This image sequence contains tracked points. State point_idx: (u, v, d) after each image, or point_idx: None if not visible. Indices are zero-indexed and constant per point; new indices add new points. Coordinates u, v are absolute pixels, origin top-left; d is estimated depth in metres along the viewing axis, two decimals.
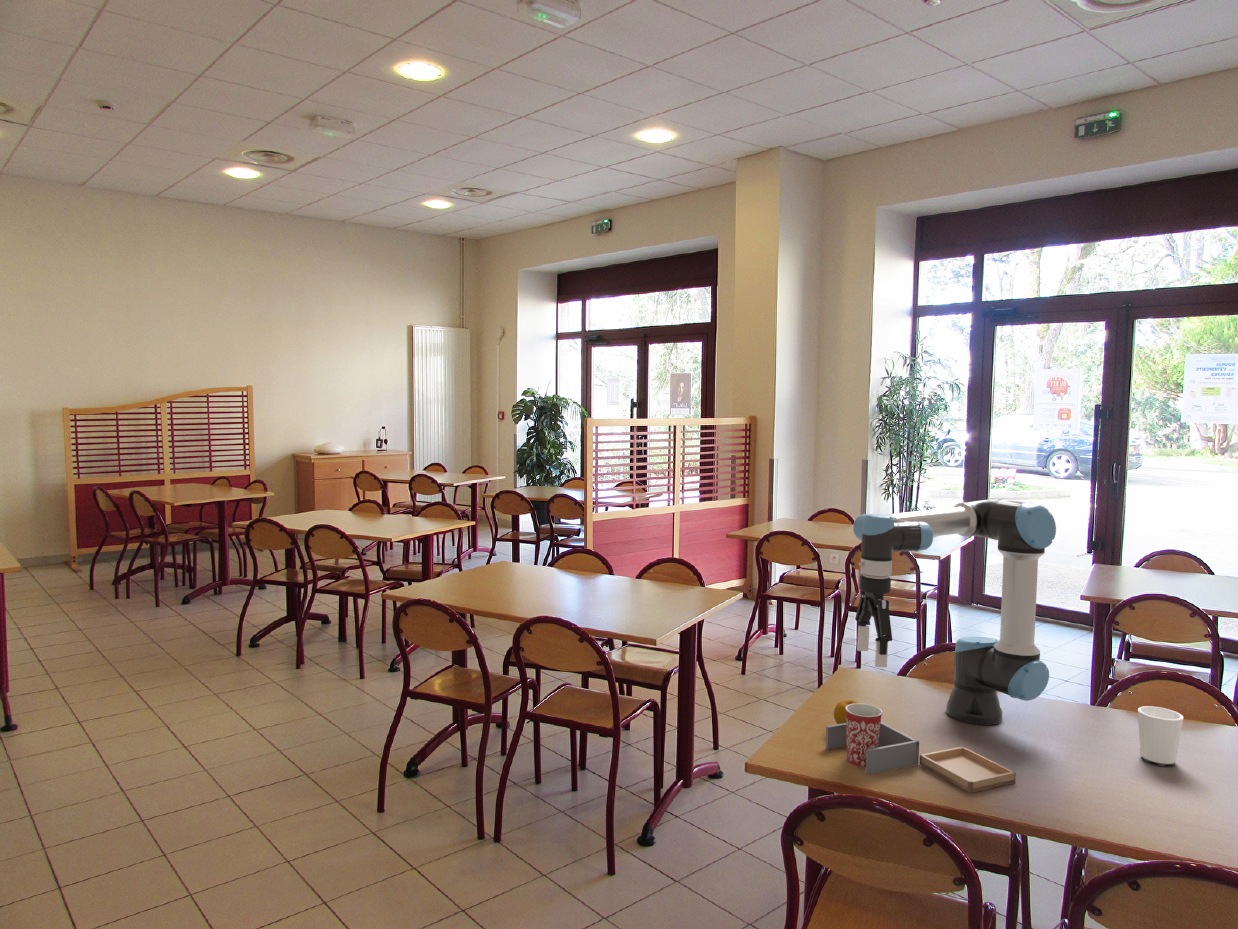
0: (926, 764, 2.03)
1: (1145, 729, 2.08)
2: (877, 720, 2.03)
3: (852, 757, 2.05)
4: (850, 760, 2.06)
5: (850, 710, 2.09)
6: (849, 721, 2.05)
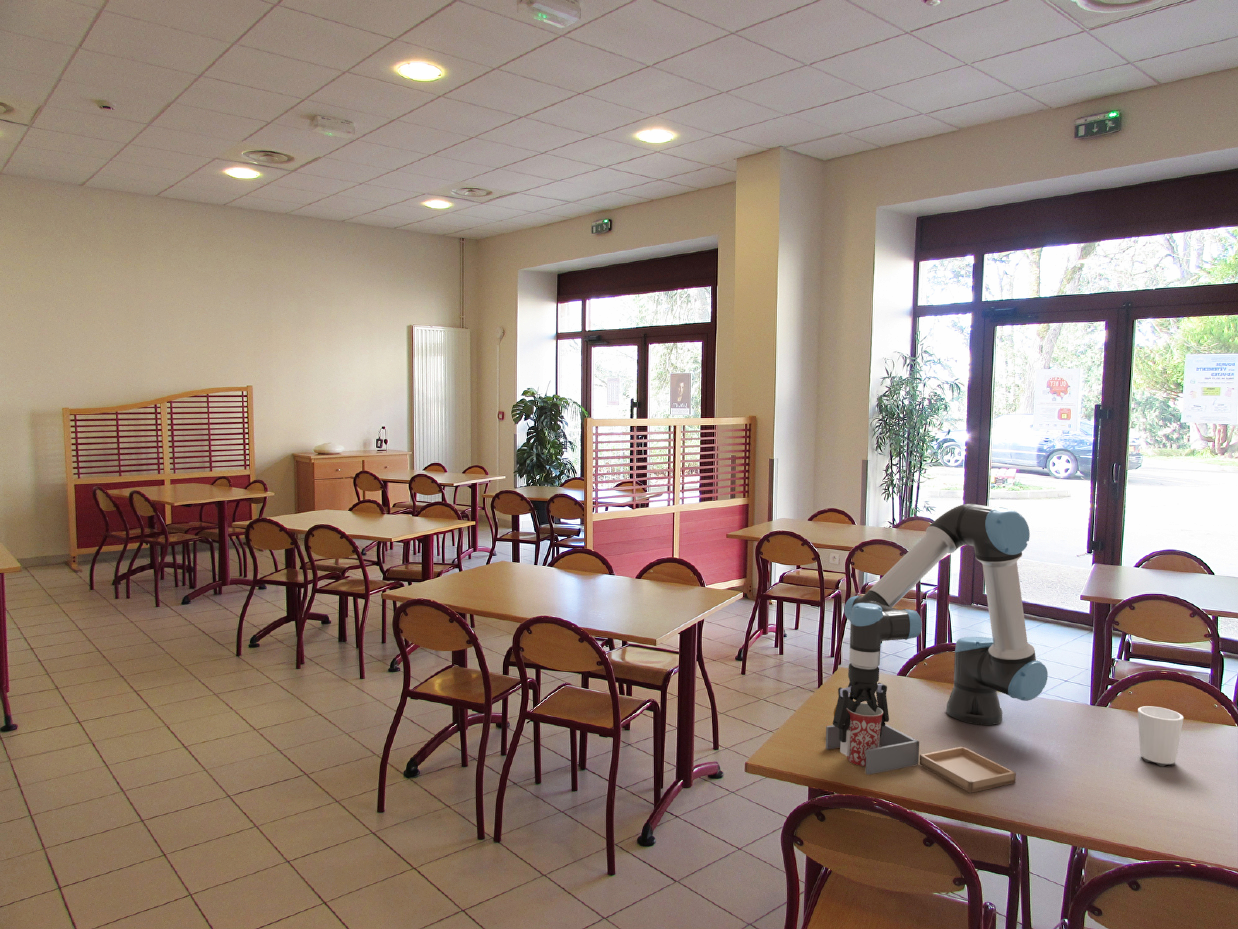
0: (926, 764, 2.03)
1: (1145, 729, 2.08)
2: (878, 720, 2.03)
3: (852, 756, 2.05)
4: (850, 759, 2.06)
5: None
6: (850, 720, 2.05)
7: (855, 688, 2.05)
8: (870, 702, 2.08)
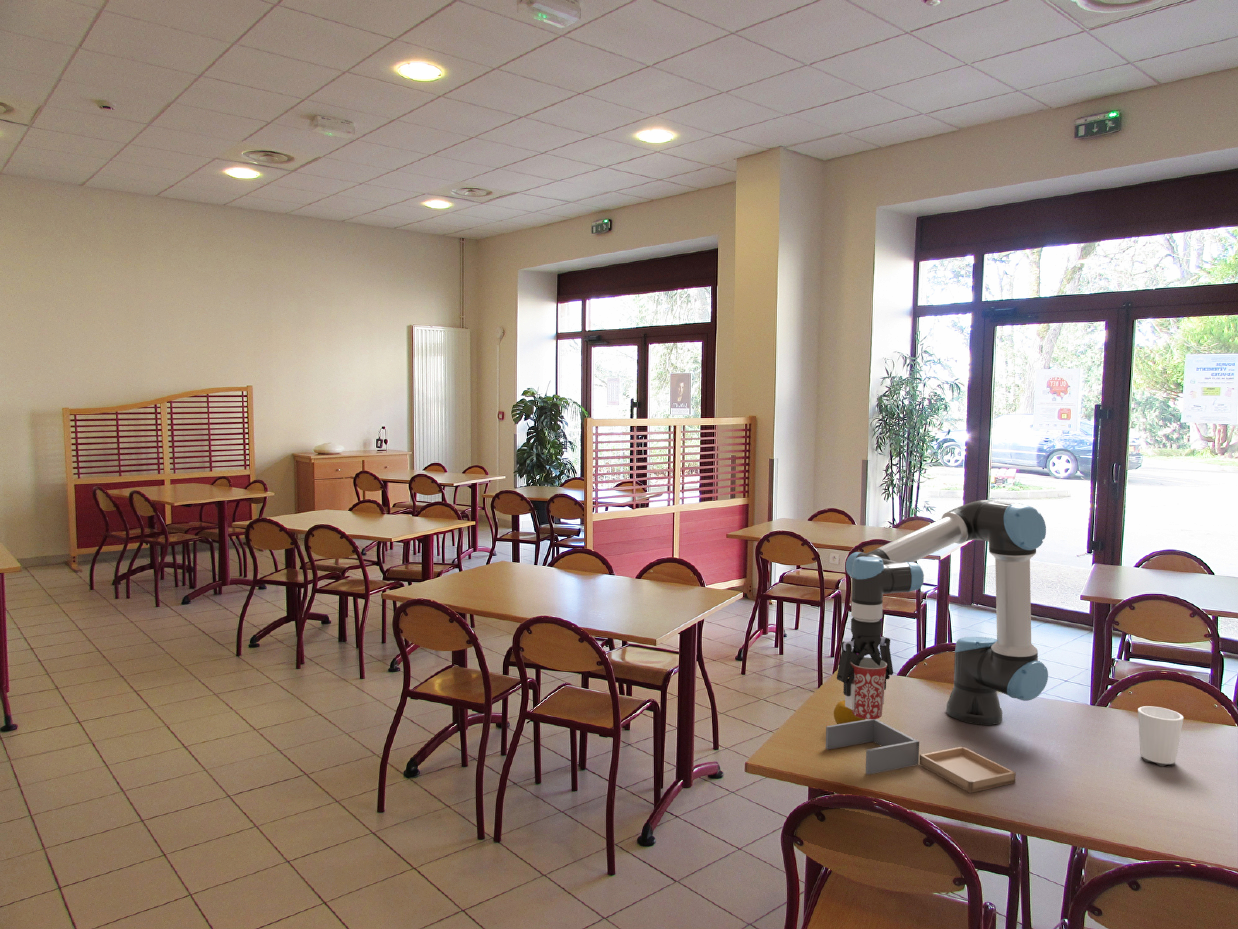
0: (926, 764, 2.03)
1: (1145, 729, 2.08)
2: (882, 672, 2.02)
3: (857, 710, 2.05)
4: (855, 713, 2.05)
5: None
6: (854, 674, 2.04)
7: (858, 641, 2.05)
8: (873, 655, 2.08)
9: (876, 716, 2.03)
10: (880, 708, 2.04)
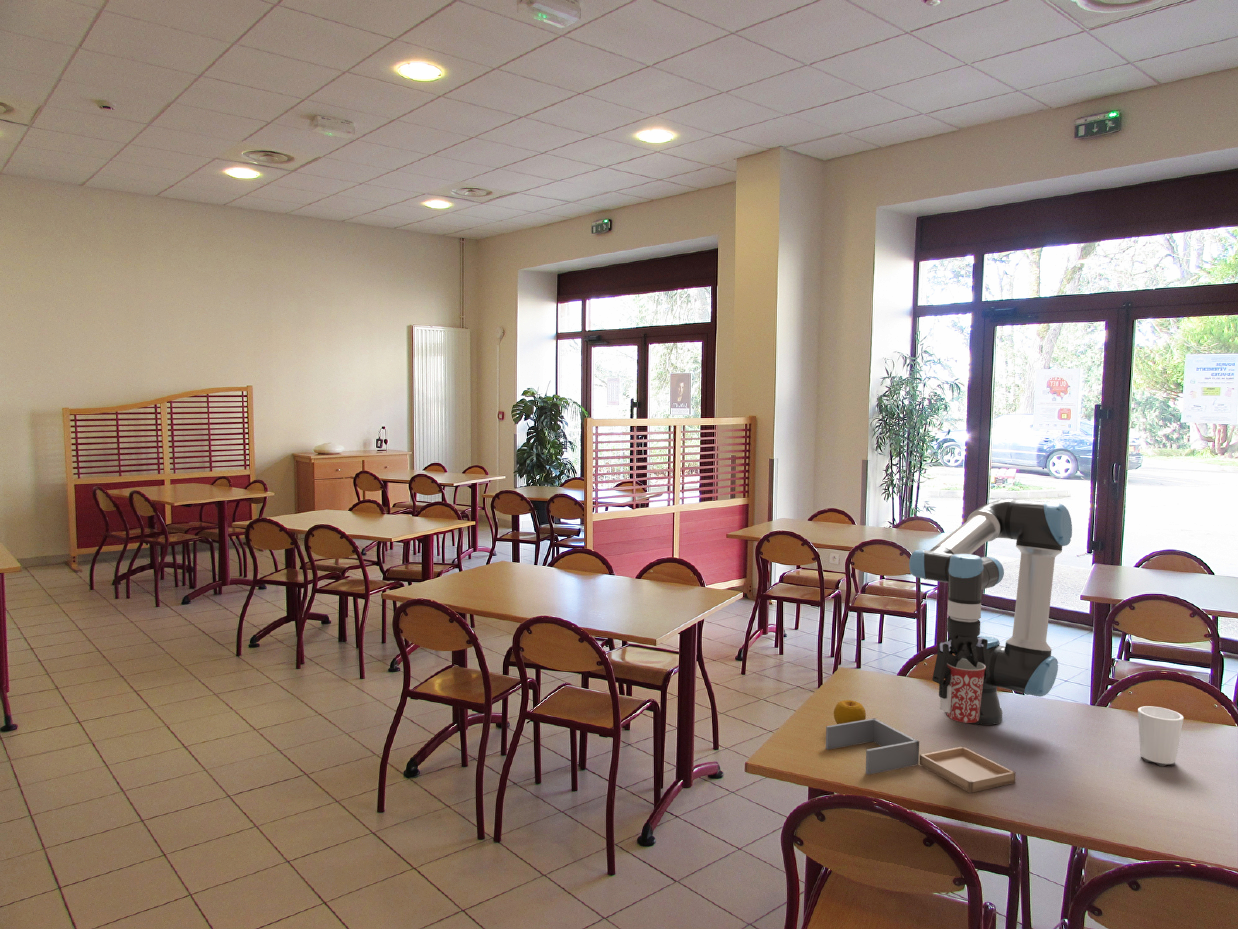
0: (926, 764, 2.03)
1: (1145, 729, 2.08)
2: (981, 674, 1.95)
3: (954, 713, 1.97)
4: (951, 716, 1.98)
5: None
6: (951, 675, 1.97)
7: (955, 642, 1.97)
8: (970, 656, 2.00)
9: (974, 719, 1.96)
10: (978, 711, 1.96)
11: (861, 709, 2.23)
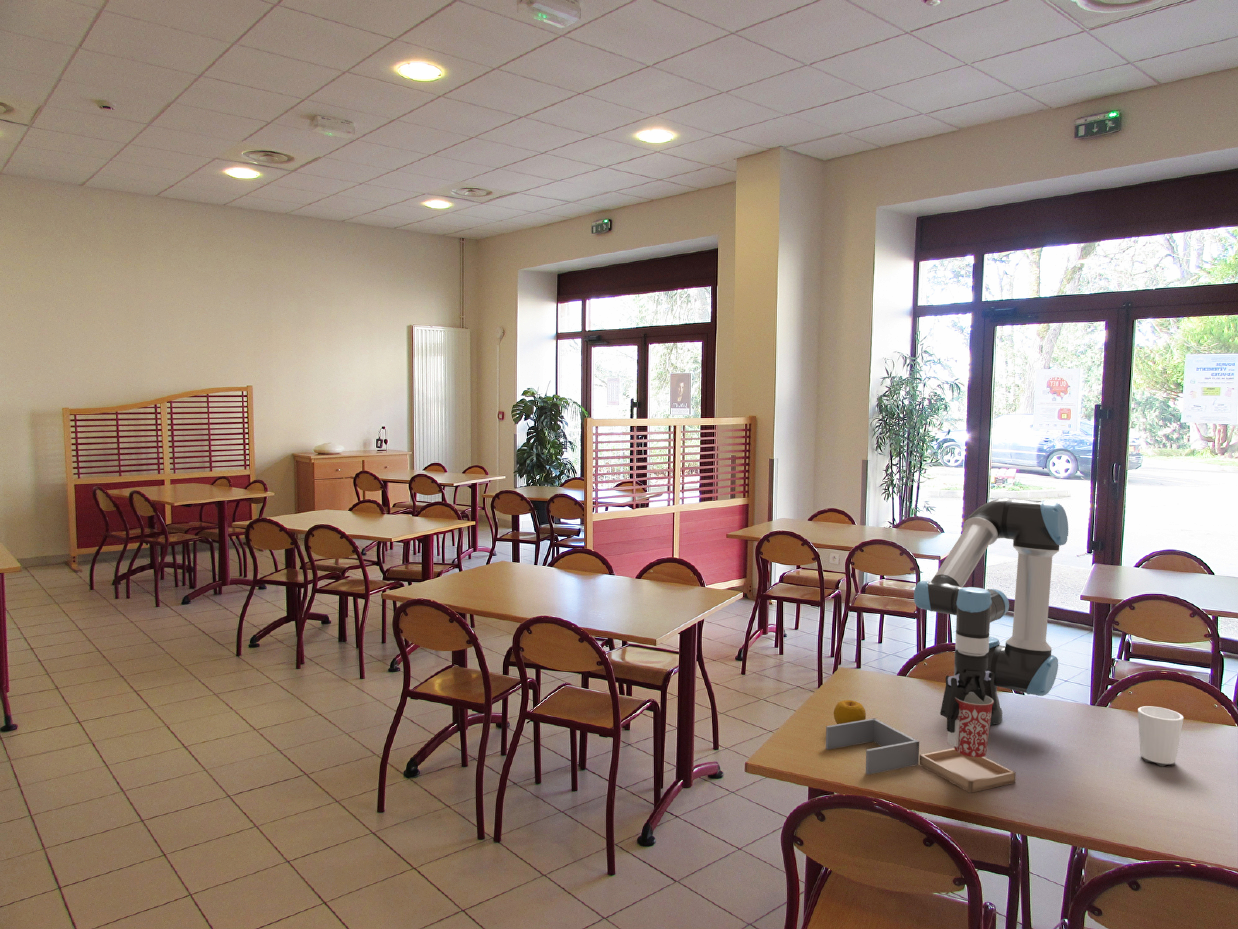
0: (926, 764, 2.03)
1: (1145, 729, 2.08)
2: (989, 708, 1.95)
3: (962, 747, 1.97)
4: (959, 750, 1.97)
5: None
6: (959, 709, 1.97)
7: (963, 676, 1.97)
8: (978, 690, 2.00)
9: (982, 754, 1.96)
10: (986, 746, 1.96)
11: (861, 709, 2.23)
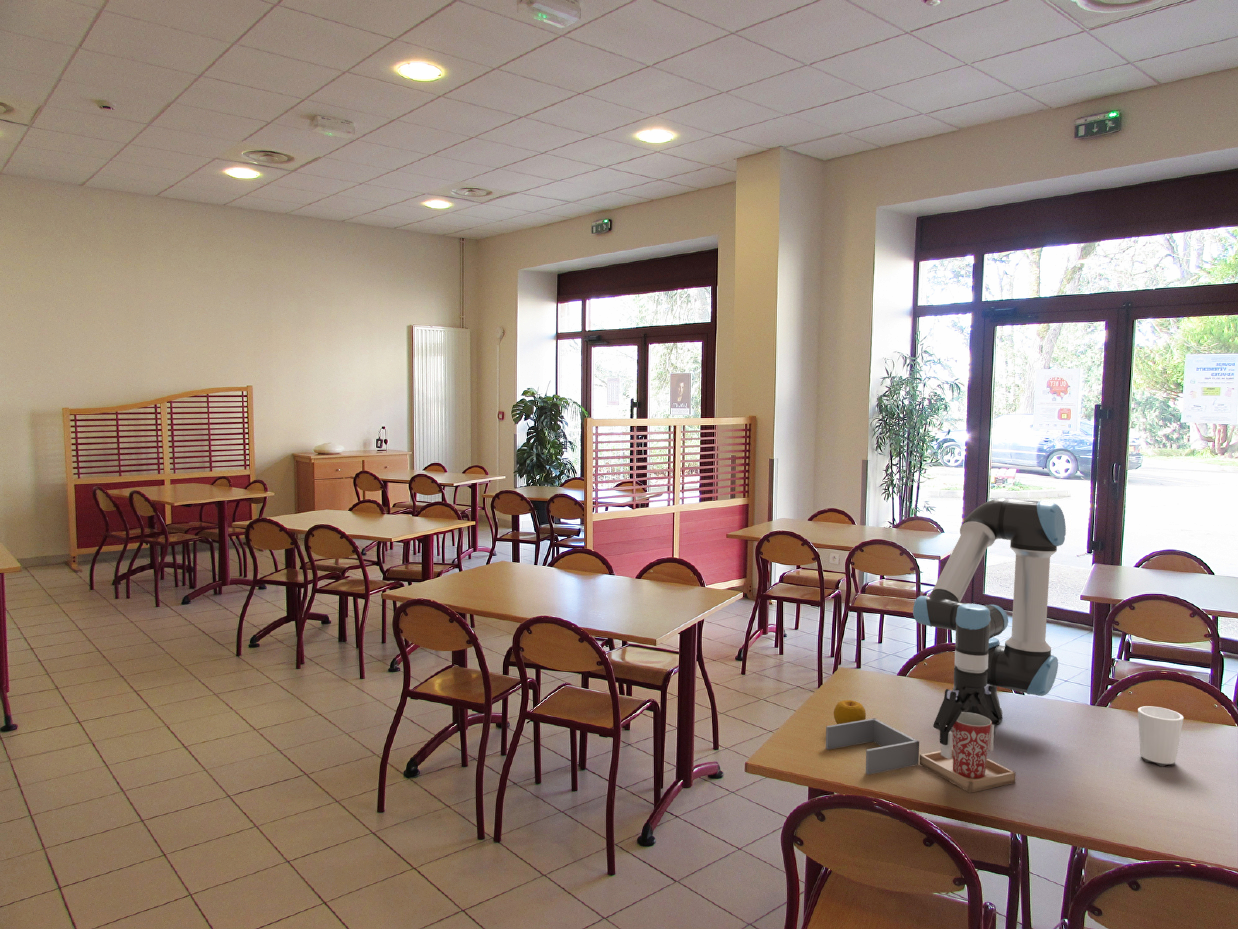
0: (926, 764, 2.03)
1: (1145, 729, 2.08)
2: (987, 730, 1.96)
3: (960, 768, 1.97)
4: (958, 771, 1.98)
5: None
6: (958, 731, 1.97)
7: (963, 692, 1.97)
8: (979, 705, 2.00)
9: (980, 775, 1.96)
10: (984, 766, 1.97)
11: (861, 709, 2.23)
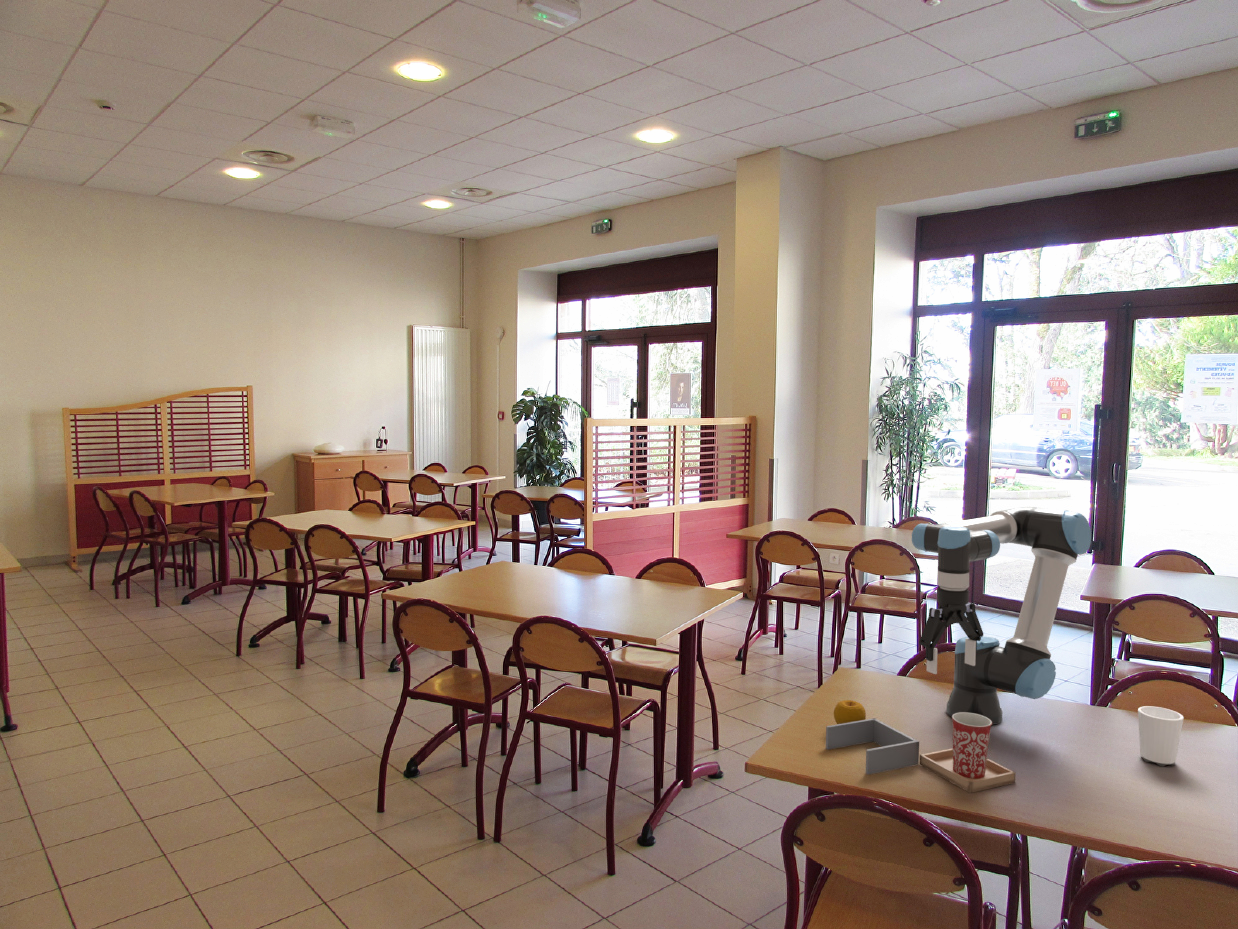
0: (926, 764, 2.03)
1: (1145, 729, 2.08)
2: (988, 730, 1.95)
3: (961, 768, 1.97)
4: (958, 772, 1.98)
5: (956, 719, 2.01)
6: (958, 731, 1.97)
7: (946, 610, 2.06)
8: (962, 622, 2.10)
9: (980, 775, 1.96)
10: (984, 767, 1.97)
11: (861, 709, 2.23)
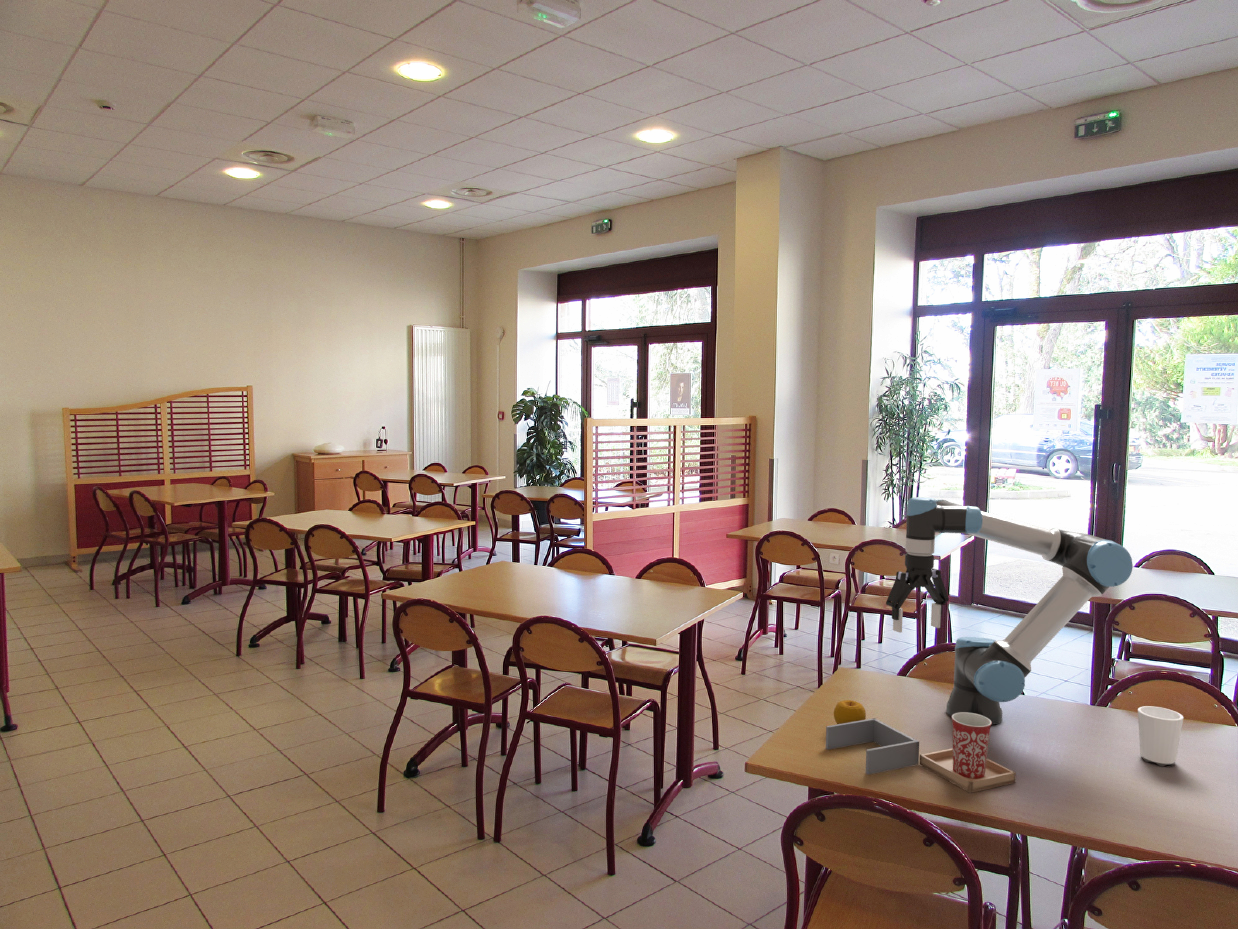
0: (926, 764, 2.03)
1: (1145, 729, 2.08)
2: (987, 730, 1.95)
3: (961, 769, 1.97)
4: (958, 772, 1.98)
5: (955, 720, 2.01)
6: (958, 731, 1.97)
7: (912, 574, 2.23)
8: (928, 586, 2.26)
9: (980, 775, 1.96)
10: (984, 767, 1.97)
11: (861, 709, 2.23)
